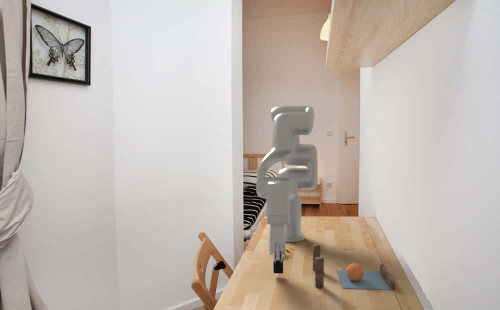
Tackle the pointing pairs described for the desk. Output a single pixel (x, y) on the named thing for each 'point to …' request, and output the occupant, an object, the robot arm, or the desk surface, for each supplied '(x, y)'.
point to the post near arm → (315, 253)
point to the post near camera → (319, 272)
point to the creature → (287, 251)
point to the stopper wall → (387, 277)
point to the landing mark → (363, 281)
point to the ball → (354, 272)
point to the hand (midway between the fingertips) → (278, 272)
